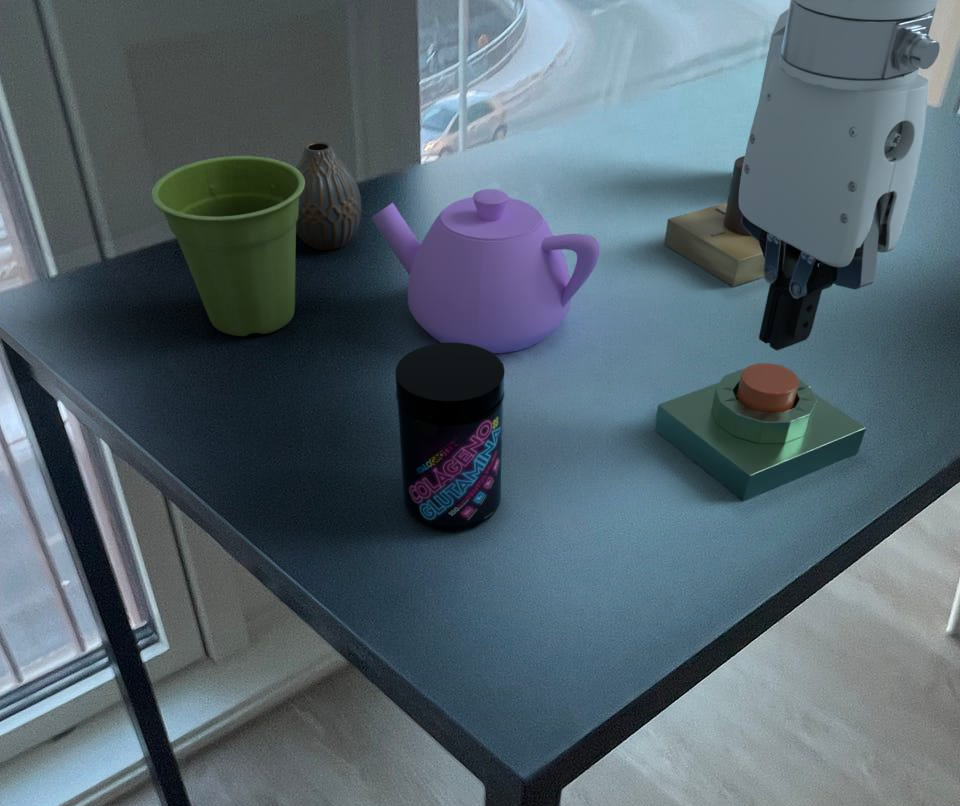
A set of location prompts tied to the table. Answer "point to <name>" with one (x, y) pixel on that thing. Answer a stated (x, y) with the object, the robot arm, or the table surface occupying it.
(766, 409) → the push button
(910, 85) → the robot arm
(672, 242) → the dial panel
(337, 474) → the table surface
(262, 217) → the plant pot
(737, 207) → the dial
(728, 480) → the button housing
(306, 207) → the vase
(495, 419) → the supplement container
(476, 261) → the teapot
